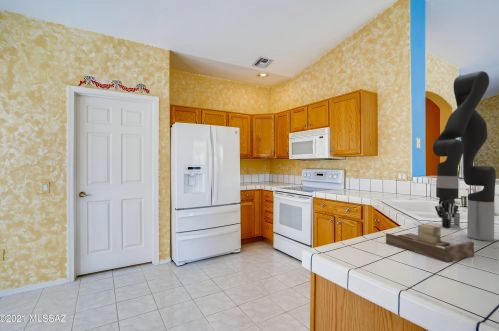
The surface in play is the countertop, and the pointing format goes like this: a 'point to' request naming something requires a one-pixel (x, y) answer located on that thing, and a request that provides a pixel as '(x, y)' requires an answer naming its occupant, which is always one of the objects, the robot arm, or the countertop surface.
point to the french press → (456, 221)
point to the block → (429, 233)
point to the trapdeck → (432, 247)
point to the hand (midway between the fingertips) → (446, 227)
